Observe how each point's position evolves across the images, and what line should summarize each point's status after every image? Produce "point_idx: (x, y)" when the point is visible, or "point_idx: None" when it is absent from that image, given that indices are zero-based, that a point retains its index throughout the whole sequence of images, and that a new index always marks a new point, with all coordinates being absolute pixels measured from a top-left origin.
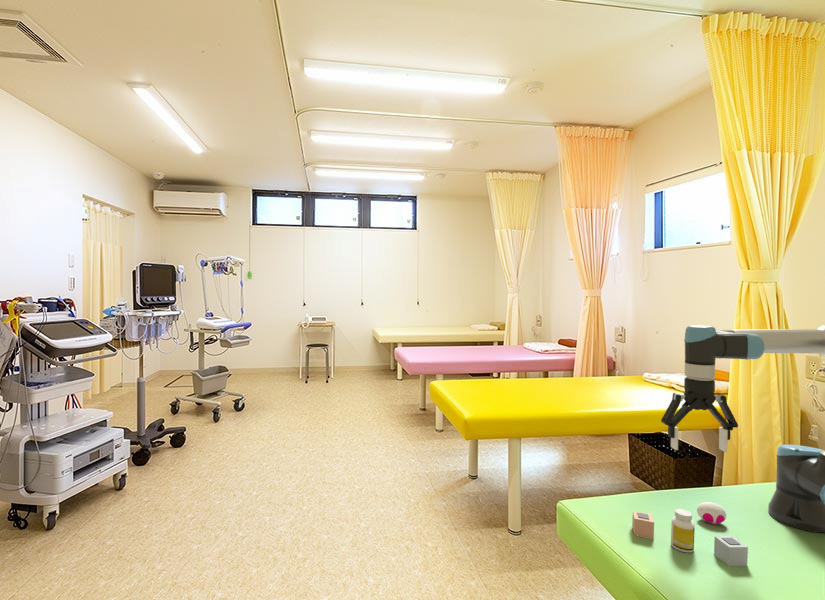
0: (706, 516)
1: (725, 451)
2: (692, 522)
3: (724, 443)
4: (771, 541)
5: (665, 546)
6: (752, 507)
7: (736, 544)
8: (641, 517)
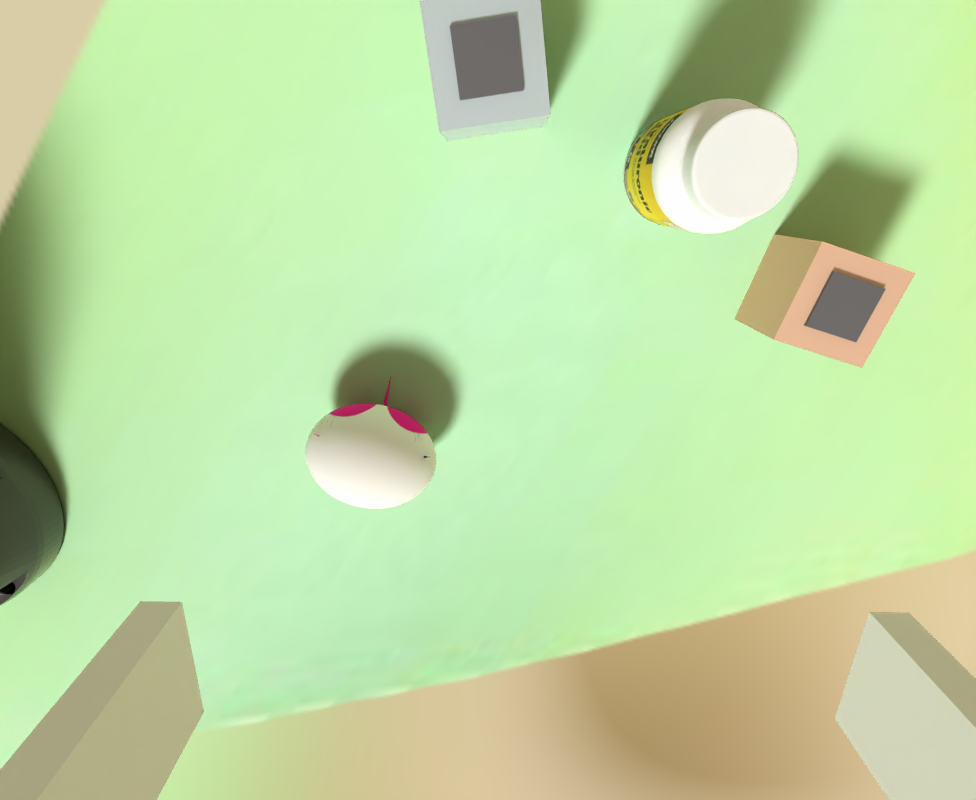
0: (414, 422)
1: (162, 609)
2: (678, 144)
3: (95, 726)
4: (181, 289)
5: None
6: (113, 582)
7: (474, 23)
8: (870, 284)
